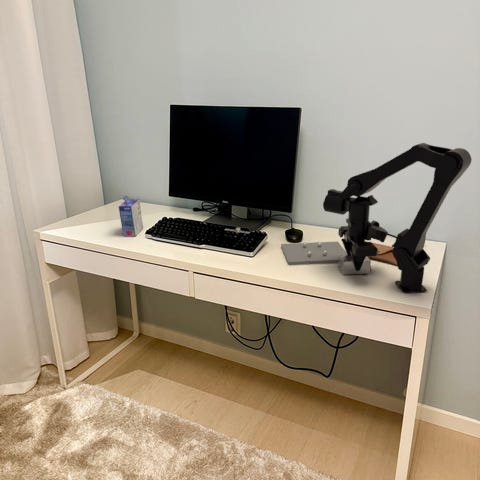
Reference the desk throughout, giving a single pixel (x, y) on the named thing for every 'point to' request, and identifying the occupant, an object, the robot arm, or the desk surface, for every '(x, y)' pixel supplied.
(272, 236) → the desk surface
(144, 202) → the desk surface
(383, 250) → the sunglasses case
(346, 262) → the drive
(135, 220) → the ink cartridge box
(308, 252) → the pin tray
